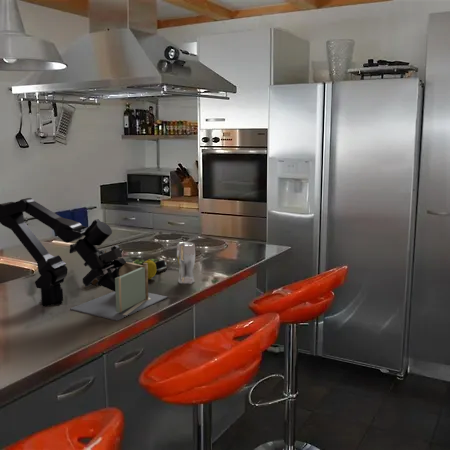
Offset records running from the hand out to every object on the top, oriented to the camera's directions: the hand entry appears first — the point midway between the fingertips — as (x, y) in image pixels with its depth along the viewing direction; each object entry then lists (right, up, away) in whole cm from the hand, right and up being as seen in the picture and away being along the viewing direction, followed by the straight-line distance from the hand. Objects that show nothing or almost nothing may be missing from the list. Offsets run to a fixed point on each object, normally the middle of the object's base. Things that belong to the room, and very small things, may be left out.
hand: (121, 291), depth 169 cm
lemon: (+4, 0, +37) cm, 37 cm away
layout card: (-2, -5, +9) cm, 10 cm away
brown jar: (-15, -1, +32) cm, 35 cm away
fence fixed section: (+1, -3, +16) cm, 16 cm away
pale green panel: (+2, -5, +4) cm, 7 cm away
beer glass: (+18, -1, +34) cm, 38 cm away
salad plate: (+1, +3, +53) cm, 53 cm away
